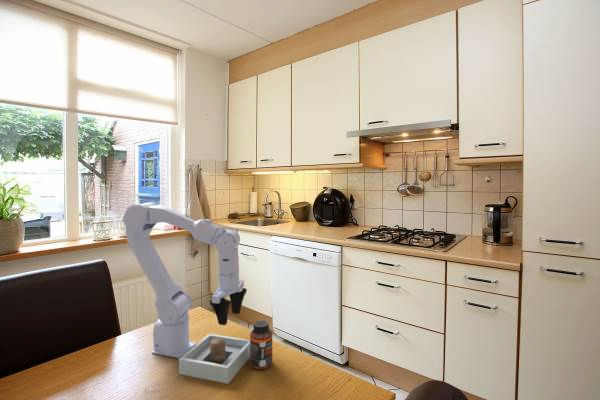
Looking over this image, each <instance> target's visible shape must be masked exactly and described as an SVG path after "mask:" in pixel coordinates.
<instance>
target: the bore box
mask: <svg viewBox="0 0 600 400" xmlns="http://www.w3.org/2000/svg"><path fill="white" fill-rule="evenodd" d="M214 339H224V340H225V353H226V360H225V362H224V363H223V364H218V363H212V362H210V342H211V341H212V340H214ZM249 359H250V339H247V338H239V337H234V336H227V335H221V334H213V333H208V334H207V335H205V337H203V338H202V339H201V340H200V341H199V342H198V343H196V345H194V346H193V347H192V348H191V349H190V350H188V351H187V352H186V353H185V354H184V355H182V356H181V357H180V358H178V373H179V375H182V376H187V377H193V378H198V379H201V380H202V379H203V380H208V381H210V382H211V381H213V382H218V383H220V384H227V385H228V384H230V382H231V381H232V380H233V379H234V378H235V376H236V375H237V373H239V371H241V369H242V368H243V366H244V365H245V364H246V363H247V361H248V360H249Z"/></svg>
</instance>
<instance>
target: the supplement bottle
mask: <svg viewBox="0 0 600 400" xmlns="http://www.w3.org/2000/svg"><path fill="white" fill-rule="evenodd" d="M269 324H270V323H269V322H268V321H267V320H257V321H255V322H254V323H253V329H252V330H251V331H250V334H249V340H250V358H249V359H250V360H249V361H250V366H251V367H252V368H253V369H255V370H260V371H262V370H266V369H268V368H270V367H271V366H272V364H273V331H272V330H271V329H270V328H269V327H270V325H269Z"/></svg>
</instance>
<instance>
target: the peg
mask: <svg viewBox="0 0 600 400" xmlns="http://www.w3.org/2000/svg"><path fill="white" fill-rule="evenodd" d="M226 359H227V358H226V353H225V340H224V339H214V340H212V341H211V342H210V360H209V362H212V363H218V364H223V363H224V362H225V360H226Z"/></svg>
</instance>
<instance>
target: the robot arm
mask: <svg viewBox="0 0 600 400" xmlns="http://www.w3.org/2000/svg"><path fill="white" fill-rule="evenodd" d="M122 221H123V223H124V225H125V237H126V239H125V240H126V242H127V244H128V245H129V248H130V249H131V251H132V253H133V254H134V256H135V259H136V260H137V262H138V263H139V266H140V267H141V269H142V271H143V273H144V275H145V276H146V278H147V280H148V282H149V284H150V285H151V287H152V289H153V290H154V293H155V301H154V306H155V307H156V311H157V318H158V319H157V321H155V323H154V325H153V329H152V338H153V340H152V341H153V350H152V351H151V354H156V355H160V356H166V357H172V358H176V359H179V358H181V357H182V356H183V355H184V354H185V353H187V352H188V351H189V350H190V349H191V348H193V347H194V346H195V345H196V344H197V343H196V342H193V341H190V324H189V322H190V319H189V318H190V316H189V313H188V311H189V309H190V308H191V307H192V298H191V297H190V295H189V294H188V293H187V292H185V291H184V290H183V288H182V286H180V285H178V284H176V283H175V282H174V280H173V278H172V277H171V275H170V273H169V272H168V271H169V270H167V267H166V266H165V264H164V262H163V261H162V259H161V257H160V254H159V253H158V251H157V250H156V248H155V246H154V245H153V242H152V240H151V239H150V236H151V233H152V231H153V229H154V227H155V226H156V225H157V224H159V223H166V224H169V225H171V226H174V227H176V228H180V229H182V230H184V231H188V232H190V235H192V236H191V237H192V238H193V239H196V240H198V241H201V242H202V243H206V244H208V245H211V246H212V247H215V249H216V250H217V252H218V254H217V255H218V257H217V262H218V263H217V266H218V267H217V268H218V271H217V272H218V287H217V289H216V290H215V293H213V295H212V296H211V299H210V301H209V304H210V307H212V309H213V311H214V312H215V313H214V314H215V316H216V319H217V322H218V325H220V326H226V325H227V324H228V316H229V315H228V314H229V308H230V306H231V313H232V314H233V315H239V314H240V313H241V310H242V304H243V300H244V297H245V295H246V293H247V292H248V290H247V288H245V280H244V279H240V267H239V266H240V264H239V263H240V262H239V247H238V246H239V244H240V242H241V236H240V234H239V233H238V231H236V230H234V229H233V228H228V229H227V228H226V226H224V225H222V226H220V225H217V224H215V223H213V222H211V219H208V218H206V219H203V218H202V219H198V220H195V219H192V218H191V217H188V216H186V215H184V214H181V213H180V212H178V211H176V210H173V209H171V208H169V207H167V206H165V205H163V204H160V203H159V204H158V203H157V202H154V201H150V202H149V201H147V202H144V203H134V204H131V205H129V206H128V207H127V208H126V210H125V212H124V215H123V216H122ZM228 296H229V299H230V300H226V297H228Z"/></svg>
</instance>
